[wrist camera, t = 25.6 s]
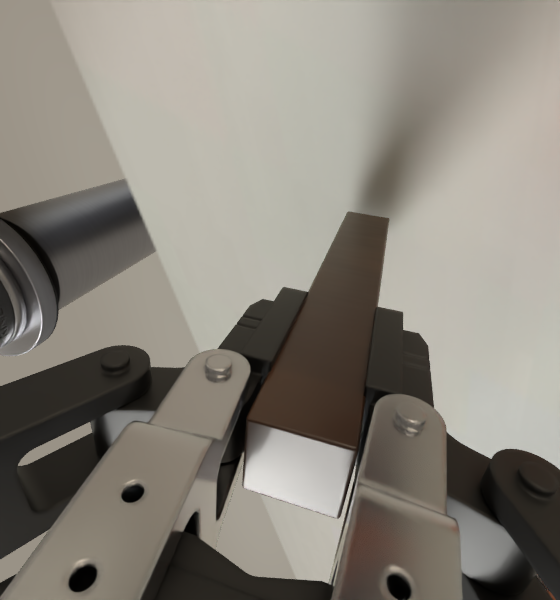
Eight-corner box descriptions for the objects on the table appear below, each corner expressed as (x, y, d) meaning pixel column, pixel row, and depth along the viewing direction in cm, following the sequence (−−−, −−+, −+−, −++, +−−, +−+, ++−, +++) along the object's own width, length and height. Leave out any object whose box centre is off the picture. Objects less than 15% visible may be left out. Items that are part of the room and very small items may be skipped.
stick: (340, 249, 20) (241, 489, 8) (347, 210, 19) (245, 417, 7) (380, 256, 19) (339, 520, 7) (389, 217, 18) (359, 450, 6)
